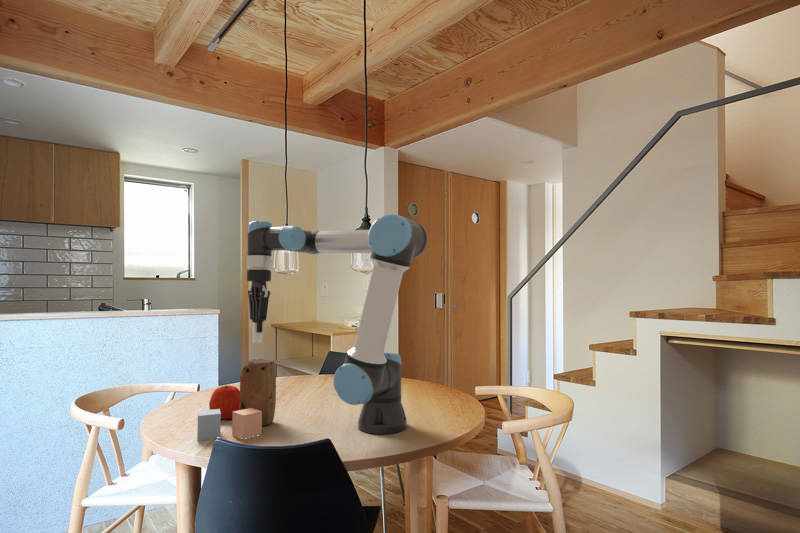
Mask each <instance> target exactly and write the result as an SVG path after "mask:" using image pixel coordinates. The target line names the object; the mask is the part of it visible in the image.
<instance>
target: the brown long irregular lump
mask: <svg viewBox="0 0 800 533" xmlns="http://www.w3.org/2000/svg"><path fill="white" fill-rule="evenodd" d="M276 365H277V364H276V361H275V360H274V359H265V358H258V359H251V360H248V361H247V362H246V363H245V364H244V365H243V366H242V370H241V373H240V377H239V379H240V380H239V391H240V407H239V408H240V410H243V409H248V408H253V409H256V410H260V411H262V427H263V426H268V425H270V424H271V423H272V424H273V422H274V420H275V411H276V403H277V402H276V400H277V367H276Z"/></svg>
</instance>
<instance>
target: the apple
mask: <svg viewBox="0 0 800 533" xmlns="http://www.w3.org/2000/svg"><path fill="white" fill-rule="evenodd" d="M208 406H209V409H208V410H213V409H220V412H221V420H227V419H228V420H232V412H234V411H238V410H240V408H239V407H240V388H239V387H237V386H233V385H223V386H219V387H216V388H215V389H214V391H213V392H212V394H211V396H210V400H209V404H208Z"/></svg>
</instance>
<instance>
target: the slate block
mask: <svg viewBox="0 0 800 533" xmlns="http://www.w3.org/2000/svg"><path fill="white" fill-rule="evenodd" d="M221 420H222V419H221V412H220V409H213V410H210V409H204V410H198V411H197V433H196V435H197V442H201V441H209V440H216V439H215V438H217V437H220V438H221V428H222V425H221V423H222V422H221Z"/></svg>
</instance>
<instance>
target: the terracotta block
mask: <svg viewBox="0 0 800 533" xmlns="http://www.w3.org/2000/svg"><path fill="white" fill-rule="evenodd" d="M231 422H232V423H231V424H232V425H231V436H232V435H233V436H232V437H234V436H236V437H239V438H242V439H245V438H249V437H252V436H257V435H261V434H262V432H263V431H262V429H263V426H262V411H260V410H256V409H253V408H248V409H243V410H238V411H234V412H232V419H231ZM261 436H262V435H261ZM236 437H235V438H236ZM257 437H258V436H257ZM239 438H238V439H239Z"/></svg>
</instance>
